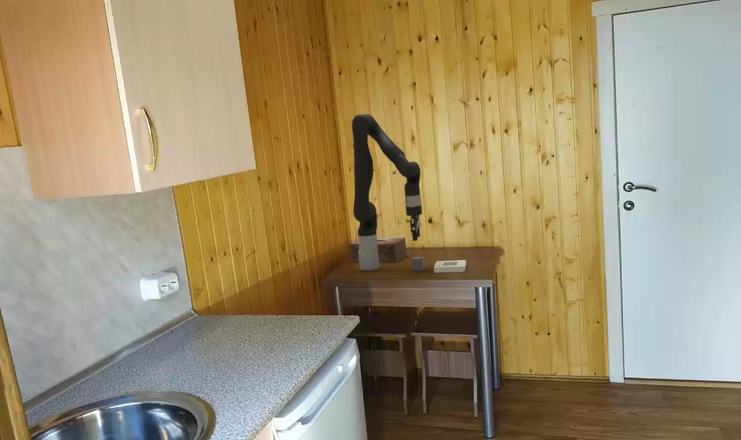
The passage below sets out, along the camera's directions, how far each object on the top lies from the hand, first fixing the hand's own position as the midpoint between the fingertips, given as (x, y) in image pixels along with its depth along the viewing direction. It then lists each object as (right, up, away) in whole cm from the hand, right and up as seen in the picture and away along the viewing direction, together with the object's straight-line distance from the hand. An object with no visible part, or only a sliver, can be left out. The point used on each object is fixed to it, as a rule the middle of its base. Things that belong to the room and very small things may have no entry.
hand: (416, 238), depth 274 cm
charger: (+1, -15, +2) cm, 15 cm away
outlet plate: (+16, -14, -1) cm, 21 cm away
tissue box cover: (-17, -12, +34) cm, 40 cm away
